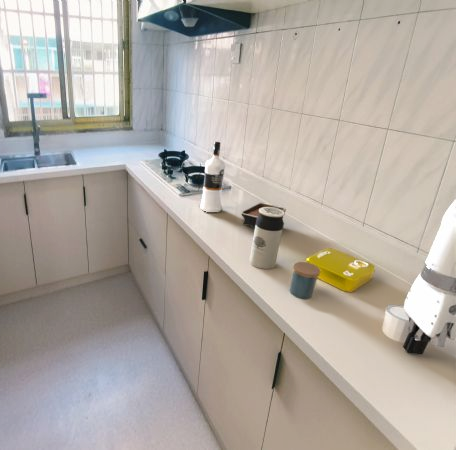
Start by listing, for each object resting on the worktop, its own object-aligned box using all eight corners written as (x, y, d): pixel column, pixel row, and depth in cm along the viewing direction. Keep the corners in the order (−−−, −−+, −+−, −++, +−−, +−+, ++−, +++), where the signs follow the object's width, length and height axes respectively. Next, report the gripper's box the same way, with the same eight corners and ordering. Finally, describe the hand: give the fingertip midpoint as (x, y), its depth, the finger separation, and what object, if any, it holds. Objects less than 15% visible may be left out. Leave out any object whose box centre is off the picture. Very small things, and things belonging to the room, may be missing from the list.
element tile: (326, 257, 113) (329, 245, 111) (373, 278, 102) (378, 264, 100) (301, 270, 105) (304, 257, 103) (349, 294, 94) (354, 279, 92)
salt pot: (309, 287, 97) (315, 262, 94) (316, 301, 91) (323, 275, 88) (285, 285, 97) (291, 260, 94) (291, 298, 91) (297, 273, 88)
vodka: (210, 204, 157) (217, 139, 145) (225, 211, 150) (233, 142, 138) (195, 208, 152) (201, 140, 140) (210, 215, 145) (217, 144, 133)
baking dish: (234, 230, 136) (236, 208, 131) (259, 213, 146) (262, 193, 141) (265, 245, 127) (269, 223, 122) (290, 226, 137) (294, 205, 132)
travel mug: (264, 255, 113) (273, 205, 106) (280, 267, 107) (291, 214, 99) (244, 259, 110) (252, 208, 103) (260, 271, 104) (270, 217, 96)
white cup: (373, 336, 78) (381, 311, 76) (384, 325, 83) (391, 301, 80) (407, 353, 73) (417, 326, 71) (417, 340, 78) (426, 315, 75)
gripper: (499, 303, 57) (455, 382, 65) (440, 260, 71) (410, 329, 78) (452, 299, 58) (414, 377, 65) (403, 257, 71) (376, 325, 79)
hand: (412, 351), depth 72 cm, fingers closed
